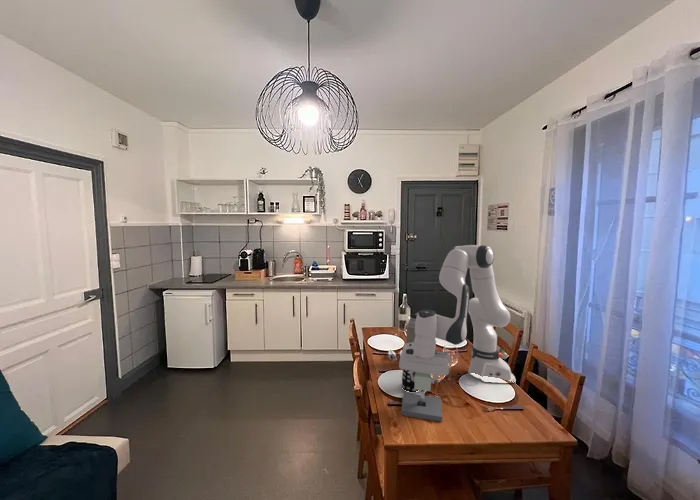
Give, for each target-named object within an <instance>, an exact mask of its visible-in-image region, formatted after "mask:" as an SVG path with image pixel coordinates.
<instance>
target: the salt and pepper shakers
mask: <svg viewBox="0 0 700 500" xmlns="http://www.w3.org/2000/svg"><path fill="white" fill-rule="evenodd" d="M402 351H403V349H401V350H400V351H399V356H401V352H402ZM387 356H388V359H389V360H390V361H398V358H397V354H396V352H395V351H394V350H392V349H389V350H388V352H387Z"/></svg>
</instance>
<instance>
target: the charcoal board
mask: <svg viewBox="0 0 700 500" xmlns="http://www.w3.org/2000/svg"><path fill="white" fill-rule="evenodd" d="M419 398H420V393H419V394H418V393H409V392H406V391H404V392H403V393H402V402H401V412H400V414H401V416H404V417H405V416H406V417H412V418H417V419H423V420H429V421H435V422H440V423H442V422H443V411H442V410H443V409H442V400H441V398H442V397H439V396H438V397H437V396H432V395H431V396H430V395H425V397H424V406H419Z"/></svg>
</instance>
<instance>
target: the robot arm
mask: <svg viewBox="0 0 700 500" xmlns="http://www.w3.org/2000/svg"><path fill="white" fill-rule="evenodd" d="M494 253H495V252H494V250H493V249H492V248H491V246H488V245H478V244H477V245H476V244H475V245H474V244H469V245H468V244H466V245H455V246H452V247H450V249H449V250H448V252H447V255H446V257H445V259H444V262H443V264H442V267H441V269H440V271H439V276H438V279H439V283H440V284H441V286H442V287H443V288H444V289H445V290H446V291H448V292H449V293H451V294H452V295H453V296H455V297H456V300H457V301H456V309H455V316H454V317H453V318H452V317H448V316H443V315H441V314H437V312H436V311H435V310H432V309H428V308H427V309H425V308H424V309H421V310H419V311H418V312H417V314H416V315H417V317H416V323H415V339H414V342H411V343H406V342H405V343H404V345H403V346H402V350H403V351H402V352H401V356H400V355H399V356H400V357H399V362H398V367H399V369H400V370H403V369H404V370H409V373H410V375H411V380H413V381H415V375H413V373H412V372H413V371H418V372H425V373H431V375H433V377H431V384H435V380H436V379H437V378H438V376H440V375H441V376H448V375H449V374H450V373H449V372H450V367H449V365H450V364H449V363H450V361H451V355H450V353H448V352H447V351H442V350H441V351H440V350H436V349H437V342H436V341H437V340H436V339H438V340H443V341H446V342H447V343H449V344H452V345H455V346H457V345H459V344H462V343H463V342H464V341H465V340H466V339H467V334H468V317H469V316H470V320H471V323H472V329H473V342H472V343H473V345H471V346H472V347H471V352H470V353H471V355H470V356H471V359H470V364H469V367H468V369H467V372H468V374H469V373H475V374H478V375H480V376H482V377H483V376H488V377H495V378H500V379H504V380H508V381H510V382H511V381H512V382H513V381H514V382H515V384H516V381H517V379H516V376H515V375H514V373H512V371H511V370H512V369H511V367H510V365H509V364H508V363H507V361H505V360H503V357H504V356H503V353H501V351H499V350H498V349H497V343H498V334H497V332H496V331H495V329H494V327H497V328H504V327H507V326H508V324H510V321H511V313H510V311H509V310H508V309H507V308H506V306H505V305H504V303H503V302H502V300H501V298H500V296H499V293H498V289H497V285H496V278H495V272H494V267H493V263H494V259H495V254H494ZM468 269H469V275H470V276H469V277H470V283H471V291H472V292H473V294H474V295H475V296H476V297H473V298H470V287H469V285H468V284H466V276H467V272H468ZM468 315H469V316H468ZM514 382H513V383H514Z"/></svg>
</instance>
